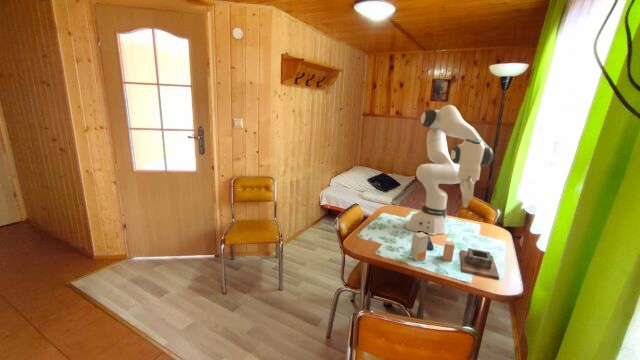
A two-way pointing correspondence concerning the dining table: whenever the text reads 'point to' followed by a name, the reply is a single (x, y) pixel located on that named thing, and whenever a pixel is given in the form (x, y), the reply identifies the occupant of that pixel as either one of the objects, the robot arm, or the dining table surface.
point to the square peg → (448, 250)
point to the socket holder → (478, 263)
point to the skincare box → (419, 246)
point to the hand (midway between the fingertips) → (464, 204)
